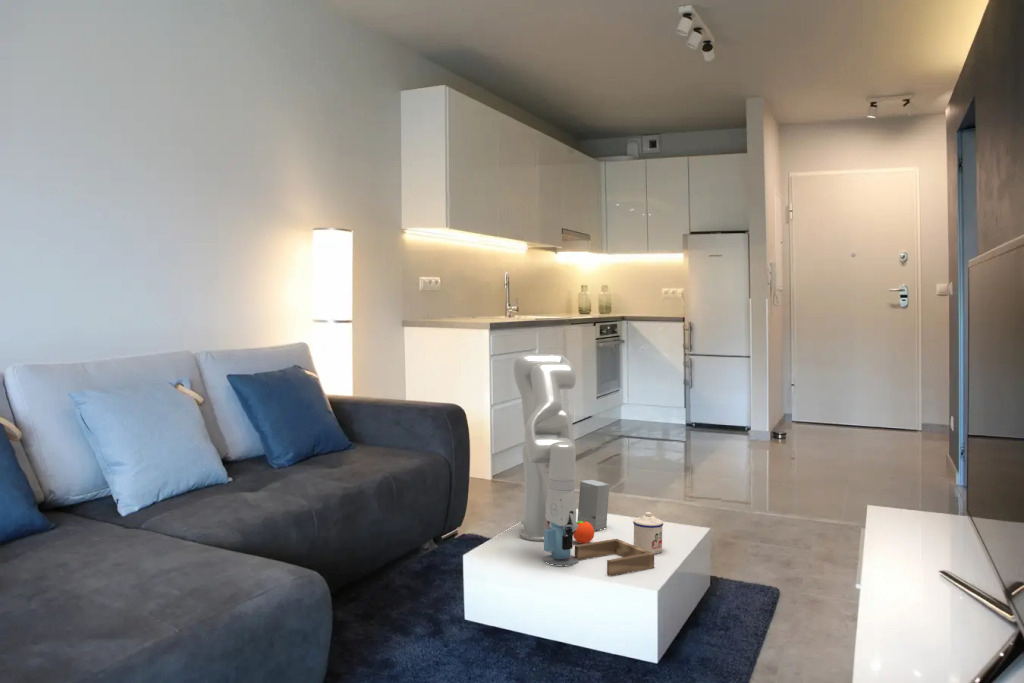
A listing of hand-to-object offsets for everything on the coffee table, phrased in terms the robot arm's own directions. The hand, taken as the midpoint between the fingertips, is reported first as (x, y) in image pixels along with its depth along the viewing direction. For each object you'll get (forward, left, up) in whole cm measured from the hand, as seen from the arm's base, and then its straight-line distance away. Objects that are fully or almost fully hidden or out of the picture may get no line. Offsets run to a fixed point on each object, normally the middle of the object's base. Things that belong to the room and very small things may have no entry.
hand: (560, 545), depth 219 cm
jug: (0, -1, -3) cm, 3 cm away
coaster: (0, 0, -4) cm, 4 cm away
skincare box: (-25, +30, -5) cm, 39 cm away
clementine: (-12, +16, -5) cm, 20 cm away
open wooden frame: (+9, +12, -4) cm, 16 cm away
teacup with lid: (+3, +31, -5) cm, 32 cm away
